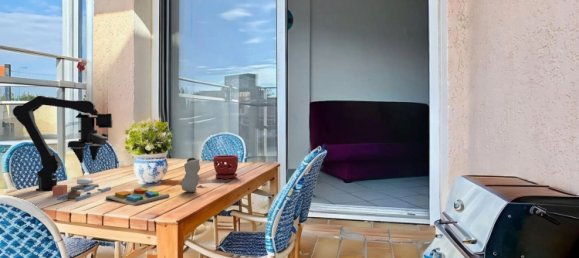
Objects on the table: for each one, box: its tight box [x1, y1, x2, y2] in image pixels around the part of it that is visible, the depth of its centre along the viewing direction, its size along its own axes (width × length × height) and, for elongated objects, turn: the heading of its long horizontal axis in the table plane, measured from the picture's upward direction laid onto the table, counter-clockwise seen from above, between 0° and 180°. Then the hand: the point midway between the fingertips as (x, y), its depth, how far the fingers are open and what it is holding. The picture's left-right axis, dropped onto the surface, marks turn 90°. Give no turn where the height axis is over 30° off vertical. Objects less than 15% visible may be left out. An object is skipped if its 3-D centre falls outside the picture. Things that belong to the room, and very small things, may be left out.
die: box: [51, 184, 68, 197], centre depth 158 cm, size 4×4×4 cm
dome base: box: [70, 183, 100, 191], centre depth 173 cm, size 8×8×1 cm
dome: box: [76, 177, 94, 185], centre depth 172 cm, size 6×6×2 cm
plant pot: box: [213, 154, 239, 180], centre depth 203 cm, size 13×13×12 cm
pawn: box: [67, 189, 81, 200], centre depth 152 cm, size 4×4×4 cm
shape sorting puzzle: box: [105, 187, 171, 206], centre depth 154 cm, size 18×19×3 cm
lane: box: [56, 186, 112, 202], centre depth 159 cm, size 10×21×2 cm, turn 172°
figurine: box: [180, 157, 201, 193], centre depth 167 cm, size 9×10×15 cm
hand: (87, 161), depth 174 cm, fingers open, 8 cm apart
